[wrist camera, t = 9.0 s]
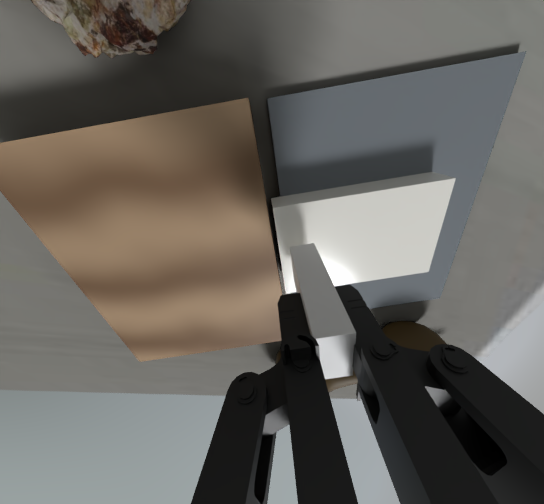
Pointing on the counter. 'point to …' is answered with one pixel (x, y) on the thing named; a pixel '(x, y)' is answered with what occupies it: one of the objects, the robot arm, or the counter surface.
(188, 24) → the counter surface
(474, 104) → the mat
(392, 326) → the kendama
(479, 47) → the counter surface
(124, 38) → the mineral rock
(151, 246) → the tan wooden board
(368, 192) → the stone tile
